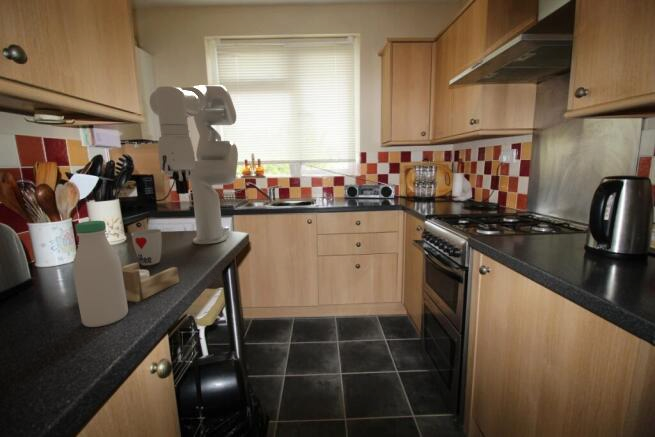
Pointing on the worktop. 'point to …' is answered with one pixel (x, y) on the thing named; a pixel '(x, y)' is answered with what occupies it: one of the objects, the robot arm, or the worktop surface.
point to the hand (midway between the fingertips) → (182, 193)
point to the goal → (146, 282)
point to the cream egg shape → (144, 274)
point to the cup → (148, 245)
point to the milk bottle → (98, 277)
